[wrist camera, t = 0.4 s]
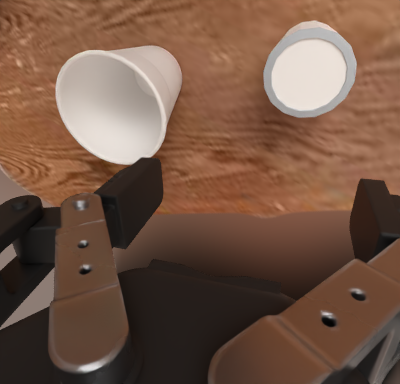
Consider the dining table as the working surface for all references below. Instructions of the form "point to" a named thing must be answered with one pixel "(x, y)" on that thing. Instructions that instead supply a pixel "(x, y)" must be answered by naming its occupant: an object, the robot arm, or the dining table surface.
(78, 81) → the cup
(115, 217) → the robot arm
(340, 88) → the white short cylinder
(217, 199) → the dining table surface
